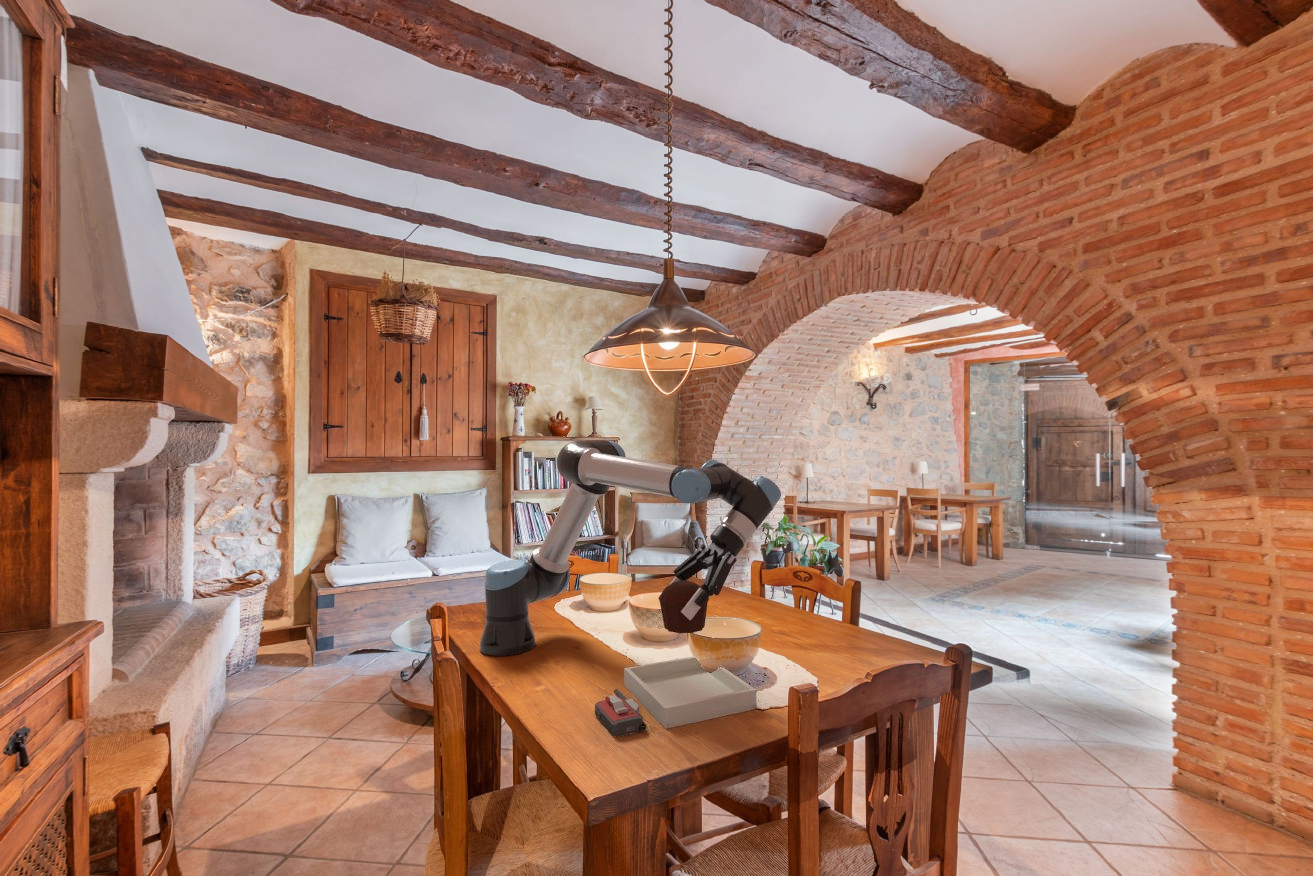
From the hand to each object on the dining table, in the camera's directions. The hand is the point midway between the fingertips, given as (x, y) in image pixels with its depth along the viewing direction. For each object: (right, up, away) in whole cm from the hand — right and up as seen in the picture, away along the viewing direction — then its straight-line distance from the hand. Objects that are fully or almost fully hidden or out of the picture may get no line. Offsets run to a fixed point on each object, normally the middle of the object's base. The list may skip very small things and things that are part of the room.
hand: (673, 609), depth 134 cm
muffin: (+2, -5, +1) cm, 5 cm away
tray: (+3, -20, +1) cm, 20 cm away
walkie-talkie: (-12, -21, -8) cm, 25 cm away
